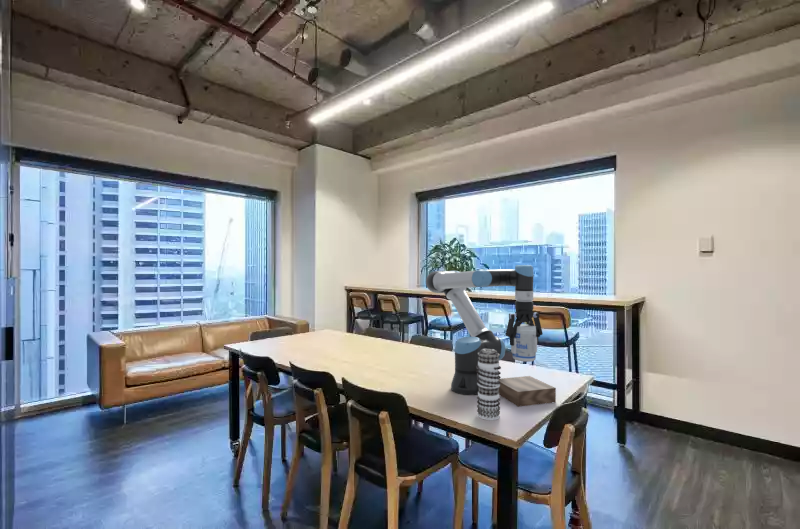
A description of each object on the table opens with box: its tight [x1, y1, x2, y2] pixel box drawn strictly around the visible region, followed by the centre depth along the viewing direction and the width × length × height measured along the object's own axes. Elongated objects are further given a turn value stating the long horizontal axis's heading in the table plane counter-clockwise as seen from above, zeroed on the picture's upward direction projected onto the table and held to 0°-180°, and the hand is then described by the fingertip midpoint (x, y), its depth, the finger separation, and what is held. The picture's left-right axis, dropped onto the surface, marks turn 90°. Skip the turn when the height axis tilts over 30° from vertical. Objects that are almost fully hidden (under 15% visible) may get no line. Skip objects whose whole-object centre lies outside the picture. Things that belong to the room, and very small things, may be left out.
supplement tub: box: [512, 323, 537, 363], centre depth 166 cm, size 10×10×15 cm
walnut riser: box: [498, 375, 557, 408], centre depth 166 cm, size 18×18×6 cm
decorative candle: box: [476, 349, 502, 421], centre depth 145 cm, size 9×9×25 cm
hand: (524, 352), depth 166 cm, fingers closed on supplement tub, 10 cm apart
